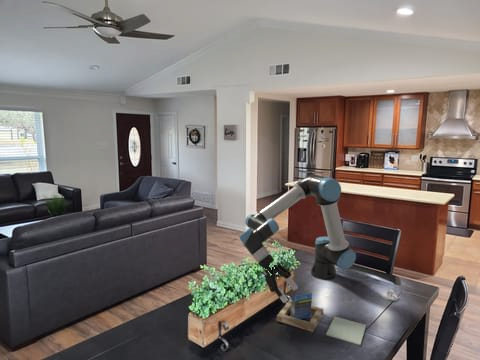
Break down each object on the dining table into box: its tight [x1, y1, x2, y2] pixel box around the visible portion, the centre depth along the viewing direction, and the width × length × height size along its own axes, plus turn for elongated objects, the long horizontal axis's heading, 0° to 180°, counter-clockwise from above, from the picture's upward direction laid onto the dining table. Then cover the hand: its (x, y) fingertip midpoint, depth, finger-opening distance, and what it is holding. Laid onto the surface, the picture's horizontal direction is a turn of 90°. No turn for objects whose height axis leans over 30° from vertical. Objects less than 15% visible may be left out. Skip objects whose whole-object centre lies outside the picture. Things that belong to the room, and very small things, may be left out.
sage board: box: [325, 316, 367, 346], centre depth 148 cm, size 16×14×1 cm
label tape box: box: [289, 292, 313, 320], centre depth 157 cm, size 9×4×12 cm, turn 111°
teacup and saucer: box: [381, 288, 399, 302], centre depth 178 cm, size 9×8×4 cm
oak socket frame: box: [276, 299, 325, 333], centre depth 157 cm, size 17×17×2 cm
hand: (291, 295), depth 157 cm, fingers open, 13 cm apart
